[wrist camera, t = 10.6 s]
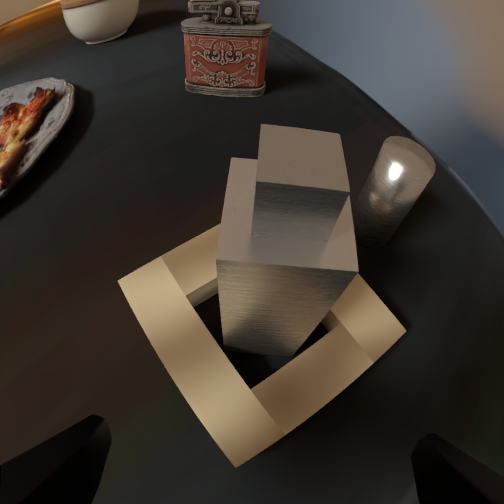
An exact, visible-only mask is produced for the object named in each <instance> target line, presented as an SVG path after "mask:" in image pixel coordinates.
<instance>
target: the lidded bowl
mask: <svg viewBox="0 0 504 504" xmlns="http://www.w3.org/2000/svg"><path fill="white" fill-rule="evenodd" d="M60 6H61V9H62V11H63V16H64V20H65V22H66V25H67V27H68V29H69V31H70V32H71V33H72V34H73V35H74V36H75V37H76V38H78V39H80V40H83V41H85V43H86V44H98V43H103V42H107V41H110V40H113V39H115V38H118V37H120V36H121V35H123V34H125V33H126V32H127V28H128V27H129V26H130V25H131V24H132V22H133V21H134V19H135V17H136V14H137V11H138V7H139V0H62V1H61V2H60Z"/></svg>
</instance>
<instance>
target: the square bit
mask: <svg viewBox="0 0 504 504" xmlns="http://www.w3.org/2000/svg"><path fill="white" fill-rule="evenodd" d="M349 193H350V189H349V182H348V177H347V171H346V165H345V160H344V154H343V149H342V144H341V139H340V134H336V133H329V132H323V131H316V130H309V129H301V128H293V127H285V126H276V125H266V124H261V131H260V141H259V151H258V160H254V159H243V158H231V164H230V170H229V176H228V182H227V188H226V195H225V201H224V207H223V214H222V220H221V227H220V234H219V240H218V247H217V254H216V268H217V280H218V291H219V302H220V313H221V323H222V333H223V343H224V351H226V352H237V353H249V354H262V355H278V356H293V354H294V353H295V352H296V351H297V350H298V349H299V347H300V346H301V345H302V344H303V343H304V341H305V340H306V339H307V338H308V336H309V335H310V334H311V333H312V332H313V330H314V329H315V328H316V327H317V325H318V324H319V323H320V322H321V320H322V319H323V318H324V317H325V315H326V314H327V313H328V311H329V310H330V309H331V308H332V306H333V305H334V304H335V302H336V301H337V300H338V299H339V297H340V296H341V295H342V293H343V292H344V291H345V289H346V288H347V287H348V285H349V284H350V283H351V281H352V280H353V279H354V277H355V276H356V275H357V273H358V272H359V270H358V260H357V251H356V242H355V234H354V226H353V218H352V211H351V204H350V197H349Z"/></svg>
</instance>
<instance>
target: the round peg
mask: <svg viewBox="0 0 504 504" xmlns="http://www.w3.org/2000/svg"><path fill="white" fill-rule="evenodd" d="M434 172H435V163H434V160H433V159H432V157H431V155H430V154H429V153H428V152H427V151H426V150H425V149H424V148H423V147H422V146H420V145H419V144H418V143H416V142H414V141H412V140H410V139H408V138H404V137H400V136H392V137H389V138H387V139H386V140H385V141H384V144H383V146H382V148H381V150H380V153H379V155H378V157H377V159H376V161H375V164H374V166H373V168H372V170H371V172H370V174H369V177H368V179H367V181H366V183H365V185H364V187H363V189H362V192H361V194H360V196H359V198H358V200H357V202H356V204H355V206H354V208H353V210H352V218H353V226H354V234H355V241H356V242H357V243H359V244H360V245H362V246H364V247H366V248H371V249H377V248H381V247H383V246H384V245H385V244H386V243H387V242H388V241H389V239H390V238H391V236H392V235H393V234H394V232H395V231H396V229H397V228H398V227H399V225H400V224H401V222H402V221H403V219H404V218H405V216H406V215H407V214H408V212H409V211H410V209H411V208H412V206H413V205H414V203H415V202H416V200H417V199H418V197H419V196H420V194H421V193H422V191H423V190H424V188H425V187H426V185H427V183H428V182H429V180H430V179H431V177H432V176H433V174H434Z"/></svg>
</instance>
